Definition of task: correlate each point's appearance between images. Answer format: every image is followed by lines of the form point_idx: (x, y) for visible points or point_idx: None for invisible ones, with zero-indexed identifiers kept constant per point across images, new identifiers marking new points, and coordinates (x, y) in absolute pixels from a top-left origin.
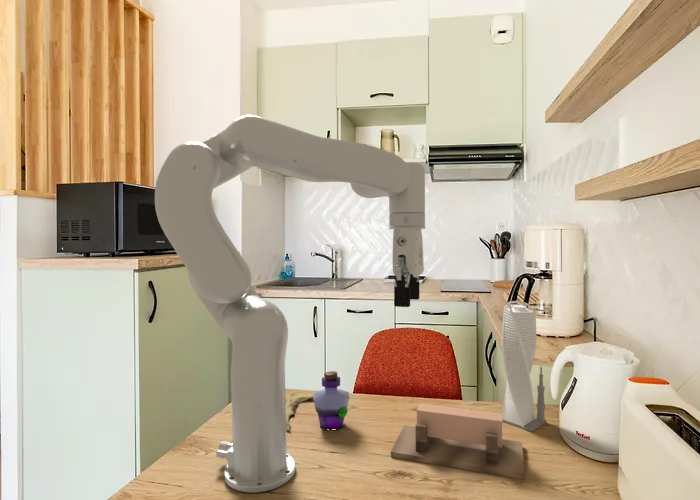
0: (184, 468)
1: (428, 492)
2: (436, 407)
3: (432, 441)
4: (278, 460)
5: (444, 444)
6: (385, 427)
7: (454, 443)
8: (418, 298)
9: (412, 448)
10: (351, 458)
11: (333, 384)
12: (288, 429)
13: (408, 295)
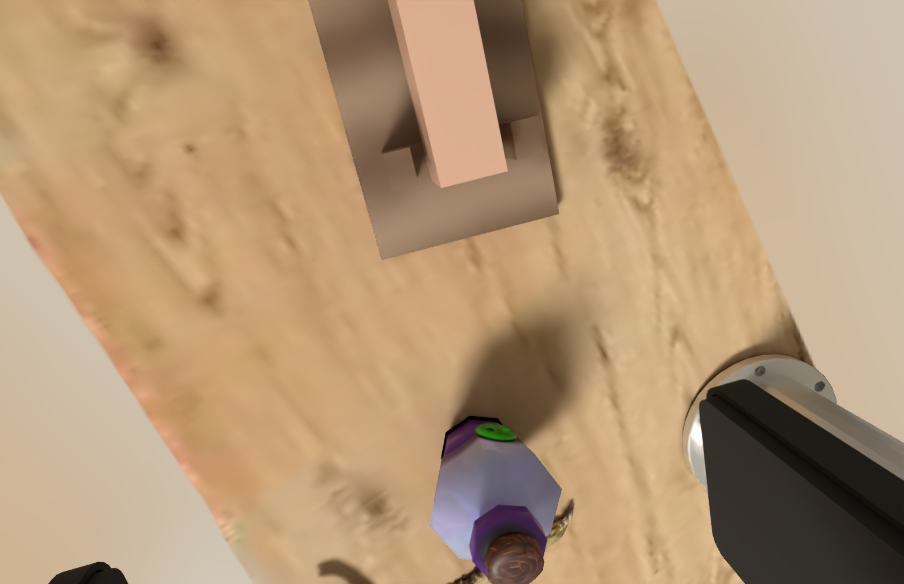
0: None
1: (665, 43)
2: (442, 112)
3: None
4: (803, 393)
5: None
6: (400, 314)
7: None
8: (96, 568)
9: (511, 166)
10: (610, 296)
11: (531, 517)
12: (571, 514)
13: (860, 474)
